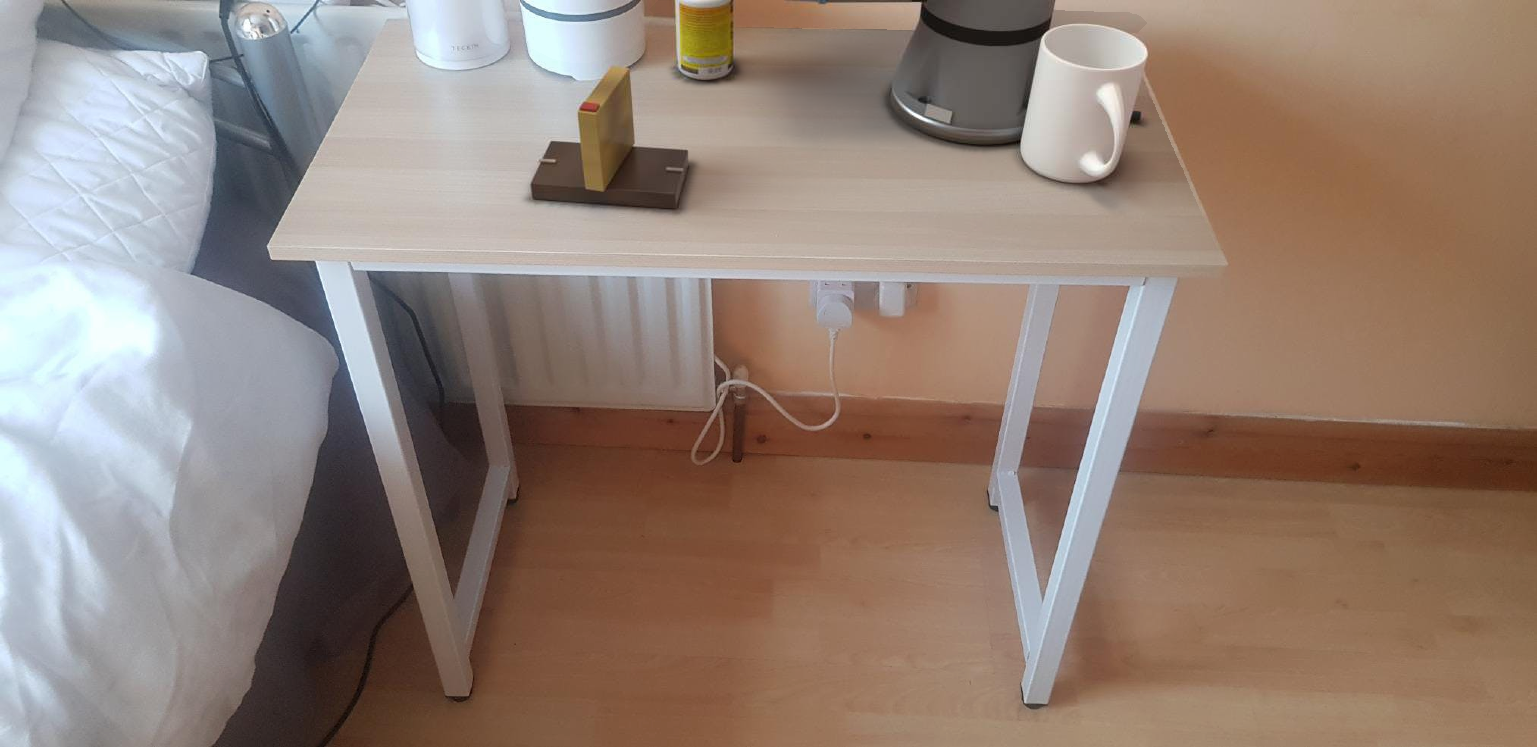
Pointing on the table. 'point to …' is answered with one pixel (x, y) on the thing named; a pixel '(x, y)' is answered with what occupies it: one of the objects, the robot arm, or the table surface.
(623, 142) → the lock turn
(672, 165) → the panel
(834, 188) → the table surface
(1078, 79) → the mug
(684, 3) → the supplement bottle
